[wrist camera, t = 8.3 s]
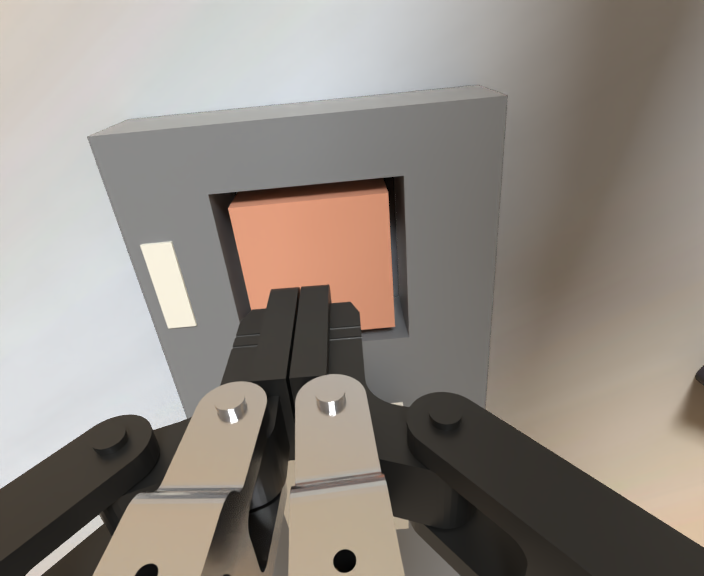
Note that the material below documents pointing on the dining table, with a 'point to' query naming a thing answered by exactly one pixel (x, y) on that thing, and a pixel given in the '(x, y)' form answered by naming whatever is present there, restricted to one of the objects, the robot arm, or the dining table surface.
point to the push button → (319, 244)
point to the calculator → (700, 375)
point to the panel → (306, 169)
